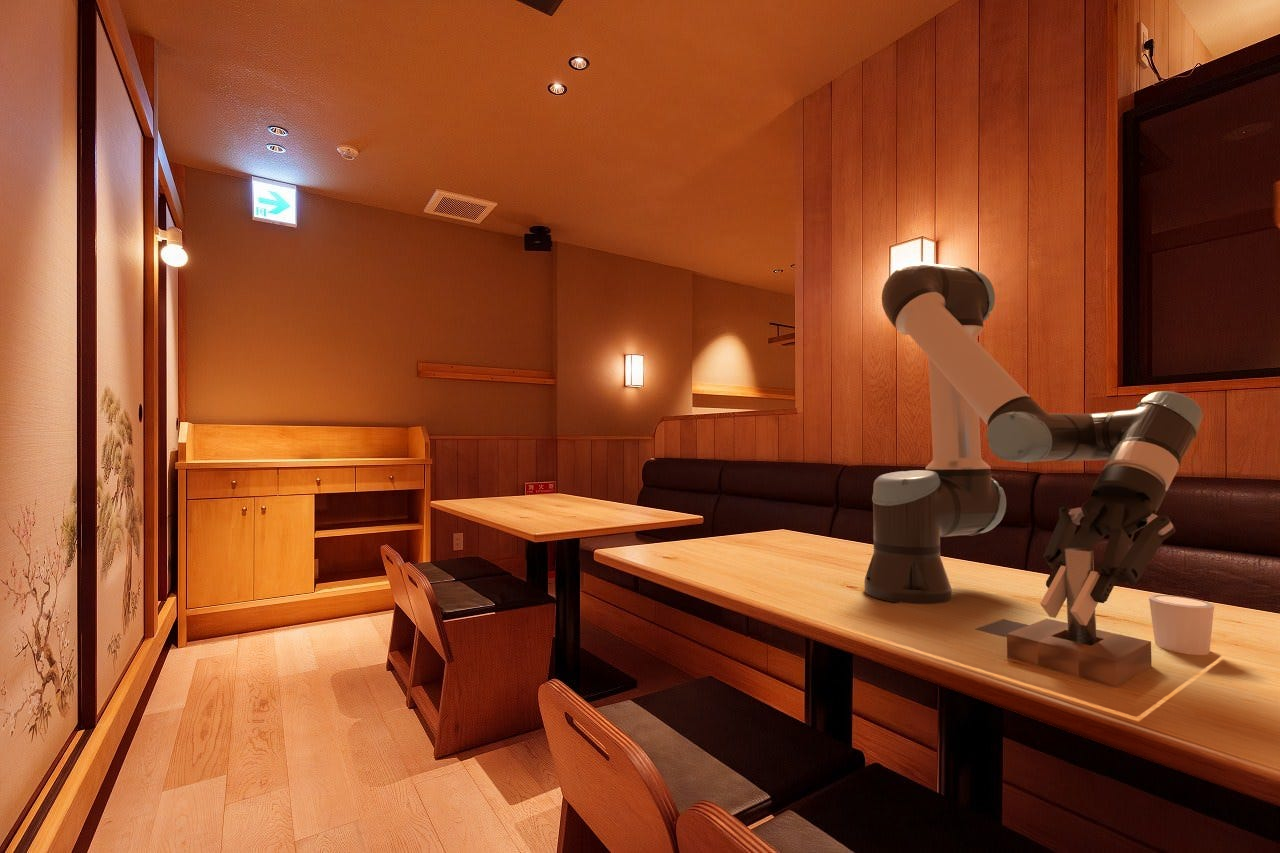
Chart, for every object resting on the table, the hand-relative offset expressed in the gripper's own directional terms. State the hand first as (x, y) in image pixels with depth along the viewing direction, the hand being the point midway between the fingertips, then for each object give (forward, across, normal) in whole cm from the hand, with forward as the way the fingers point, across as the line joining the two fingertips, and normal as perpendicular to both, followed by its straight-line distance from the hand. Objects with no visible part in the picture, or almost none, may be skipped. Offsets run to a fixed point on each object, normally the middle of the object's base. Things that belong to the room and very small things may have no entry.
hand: (1062, 614), depth 77 cm
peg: (0, 0, -6) cm, 6 cm away
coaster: (-1, +12, -11) cm, 16 cm away
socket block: (+2, +1, -8) cm, 8 cm away
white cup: (-11, -2, -21) cm, 24 cm away
